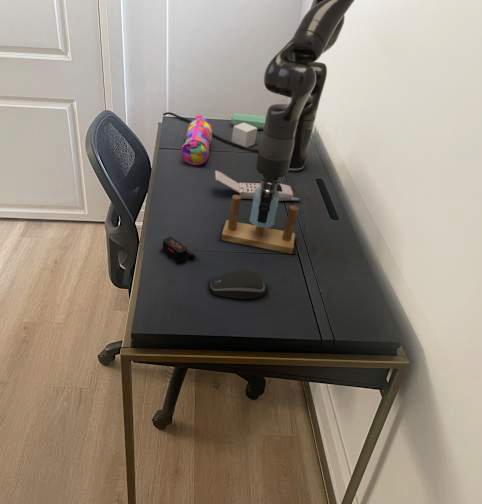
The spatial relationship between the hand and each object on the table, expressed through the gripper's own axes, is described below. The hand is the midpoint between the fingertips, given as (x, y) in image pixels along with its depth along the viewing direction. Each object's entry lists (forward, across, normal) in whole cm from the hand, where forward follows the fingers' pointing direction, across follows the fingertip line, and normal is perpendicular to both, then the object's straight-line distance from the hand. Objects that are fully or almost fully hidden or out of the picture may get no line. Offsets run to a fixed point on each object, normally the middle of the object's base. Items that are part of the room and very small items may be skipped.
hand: (263, 214), depth 122 cm
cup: (+2, 0, 0) cm, 2 cm away
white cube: (+8, +58, +12) cm, 60 cm away
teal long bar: (+7, +74, +7) cm, 75 cm away
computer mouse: (+8, -21, +2) cm, 23 cm away
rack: (+7, 0, 0) cm, 7 cm away
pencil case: (+8, +44, +26) cm, 52 cm away
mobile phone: (+8, +22, +4) cm, 24 cm away
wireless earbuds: (+8, -14, +18) cm, 23 cm away
